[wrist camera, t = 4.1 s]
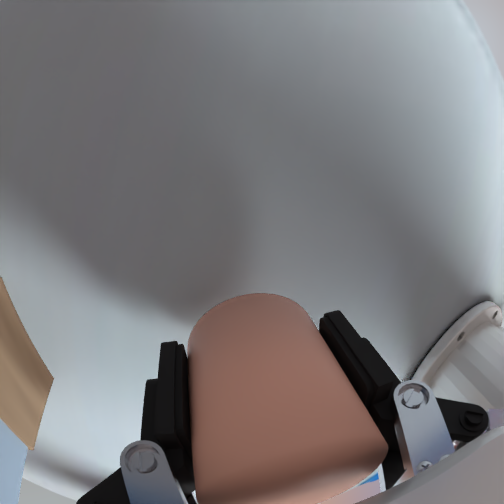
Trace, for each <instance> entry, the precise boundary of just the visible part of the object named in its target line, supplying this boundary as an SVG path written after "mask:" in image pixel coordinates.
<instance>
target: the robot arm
mask: <svg viewBox="0 0 504 504" xmlns="http://www.w3.org/2000/svg"><path fill="white" fill-rule="evenodd" d="M501 324H502V311H501V309H500V307H499V306H497V305H496V304H495V303H493V302H491V301H486V302H482V303H480V304H478V305H476V306H474V307H473V308H471V309H470V310H469V311H468V312H466V313H465V314H464V315H463V316H462V317H461V318H459V319H458V320H457V321H456V322H455V323H454V324H453V325H452V326H451V327H450V328H449V329H448V331H447V332H446V333H445V334H444V335H443V336H442V337H441V338H440V340H439V341H438V342H437V343H436V344H435V346H434V347H433V348H432V349H431V351H430V352H429V353H428V355H427V356H426V357H425V359H424V360H423V362H422V363H421V365H420V366H419V367H418V369H417V371H416V372H415V374H414V376H413V378H412V379H411V380H407V381H404V382H402V383H401V382H400V380H399V379H398V378H397V376H396V375H395V374H394V373H393V371H392V370H391V369H390V367H389V366H388V365H387V364H386V362H385V361H384V360H383V358H382V357H381V356H380V355H379V353H378V352H377V351H376V350H375V348H374V347H373V346H372V345H371V343H370V342H369V341H368V340H367V339H366V338H364V337H363V338H361V337H360V336H359V334H358V333H357V332H356V330H355V329H354V328H353V327H352V325H351V324H350V323H349V322H348V320H347V319H346V318H345V316H344V315H343V314H342V313H341V312H340V311H339V310H337V311H333V312H329V313H325V314H324V317H323V318H321V319H320V324H319V332H320V334H321V336H322V337H323V339H324V340H325V342H326V344H327V345H328V347H329V349H330V350H331V352H332V353H333V355H334V357H335V358H336V360H337V362H338V363H339V365H340V366H341V368H342V370H343V371H344V373H345V375H346V376H347V378H348V379H349V381H350V383H351V384H352V386H353V388H354V389H355V391H356V393H357V394H358V396H359V398H360V399H361V401H362V402H363V404H364V406H365V407H366V409H367V411H368V412H369V414H370V416H371V417H372V419H373V421H374V422H375V424H376V426H377V427H378V429H379V431H380V432H381V434H382V436H383V437H384V439H385V441H386V442H387V444H388V453H387V455H386V457H385V459H384V460H383V462H382V463H381V464H380V465H379V466H378V475H379V481H380V488H381V493H379V494H377V495H375V496H372V497H370V498H367V499H365V500H363V501H360V502H358V503H355V504H504V329H503V328H502V327H501ZM120 466H121V467H120V468H119V469H118V470H117V471H115V472H114V473H113V474H111V475H110V476H109V477H108V478H106V479H105V480H104V481H102V482H101V483H100V484H98V485H97V486H96V487H94V488H93V489H92V490H90V491H89V492H87V493H86V494H85V495H83V496H82V497H81V498H80V499H79V500H78V501H77V503H76V504H198V503H197V499H196V497H195V494H194V492H193V491H194V490H195V481H194V471H193V459H192V447H191V432H190V415H189V392H188V358H187V355H186V352H185V349H184V345H183V344H179V345H178V343H177V341H172V342H164V343H161V349H160V359H159V370H158V379H149V380H147V381H146V387H145V396H144V405H143V416H142V427H141V441H136V442H133V443H131V444H129V445H128V446H127V447H125V449H124V450H123V451H122V453H121V456H120Z"/></svg>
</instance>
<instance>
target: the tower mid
mask: <svg viewBox="0 0 504 504" xmlns="http://www.w3.org/2000/svg"><path fill="white" fill-rule="evenodd" d="M27 451H28V447H27V446H26V445H25V444H24V443H23V442H22V441H21V440H20V439H19V438H18V437H17V436H16V435H15V434H14V433H13V432H12V431H11V429H10V428H9V427H8V426H7V425H6V424H5V423H4V422H3V421H2V420H1V418H0V504H18V500H19V493H20V486H21V480H22V475H23V470H24V465H25V460H26V455H27Z"/></svg>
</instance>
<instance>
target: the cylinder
mask: <svg viewBox="0 0 504 504" xmlns="http://www.w3.org/2000/svg"><path fill="white" fill-rule="evenodd" d="M187 353H188V392H189V415H190V432H191V447H192V459H193V471H194V481H195V491H196V499H197V503H198V504H318V503H320V502H323V501H326V500H328V499H330V498H332V497H335V496H337V495H339V494H341V493H343V492H344V491H346V490H348V489H350V488H352V487H353V486H355V485H356V484H358V483H359V482H361V481H362V480H364V479H365V478H366V477H368V476H369V475H370V474H371V473H372V472H373V471H374V470H376V469H377V468H378V466H379V465H380V464H381V463H382V462H383V460H384V459H385V457H386V455H387V453H388V444H387V442H386V441H385V439H384V437H383V436H382V434H381V432H380V431H379V429H378V427H377V426H376V424H375V422H374V421H373V419H372V417H371V416H370V414H369V412H368V411H367V409H366V407H365V406H364V404H363V402H362V401H361V399H360V398H359V396H358V394H357V393H356V391H355V389H354V388H353V386H352V384H351V383H350V381H349V379H348V378H347V376H346V375H345V373H344V371H343V370H342V368H341V366H340V365H339V363H338V362H337V360H336V358H335V357H334V355H333V353H332V352H331V350H330V349H329V347H328V345H327V344H326V342H325V340H324V339H323V337H322V336H321V334H320V332H319V331H318V329H317V328H316V326H315V324H314V323H313V321H312V320H311V318H310V316H309V315H308V313H307V312H306V311H305V310H304V309H303V308H302V307H301V306H300V305H299V304H297V303H296V302H294V301H292V300H290V299H288V298H285V297H283V296H279V295H275V294H267V293H254V294H246V295H242V296H237V297H234V298H231V299H229V300H226V301H224V302H222V303H220V304H218V305H217V306H215V307H213V308H212V309H210V310H209V311H208V312H207V313H205V314H204V315H203V316H202V317H201V318H200V320H199V321H198V322H197V323H196V325H195V326H194V328H193V330H192V332H191V334H190V337H189V340H188V347H187Z"/></svg>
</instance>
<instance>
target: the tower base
mask: <svg viewBox="0 0 504 504" xmlns="http://www.w3.org/2000/svg"><path fill="white" fill-rule="evenodd" d="M53 380H54V378H53V376H52V375H51V373H50V372H49V370H48V369H47V367H46V365H45V364H44V362H43V360H42V359H41V357H40V355H39V354H38V352H37V350H36V349H35V347H34V345H33V343H32V341H31V340H30V338H29V336H28V334H27V332H26V330H25V328H24V326H23V324H22V322H21V320H20V318H19V316H18V314H17V312H16V310H15V308H14V306H13V303H12V301H11V299H10V297H9V294H8V292H7V290H6V287H5V285H4V282H3V280H2V277H1V278H0V418H1V420H2V421H3V422H4V423H5V424H6V425H7V426H8V427H9V428H10V429H11V431H12V432H13V433H14V434H15V435H16V436H17V437H18V438H19V439H20V440H21V441H22V442H23V443H24V444H25V445H26V446H27V447H28V449H29V450H34V446H35V442H36V438H37V434H38V430H39V426H40V422H41V419H42V415H43V411H44V408H45V405H46V401H47V398H48V395H49V392H50V389H51V386H52V383H53Z"/></svg>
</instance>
